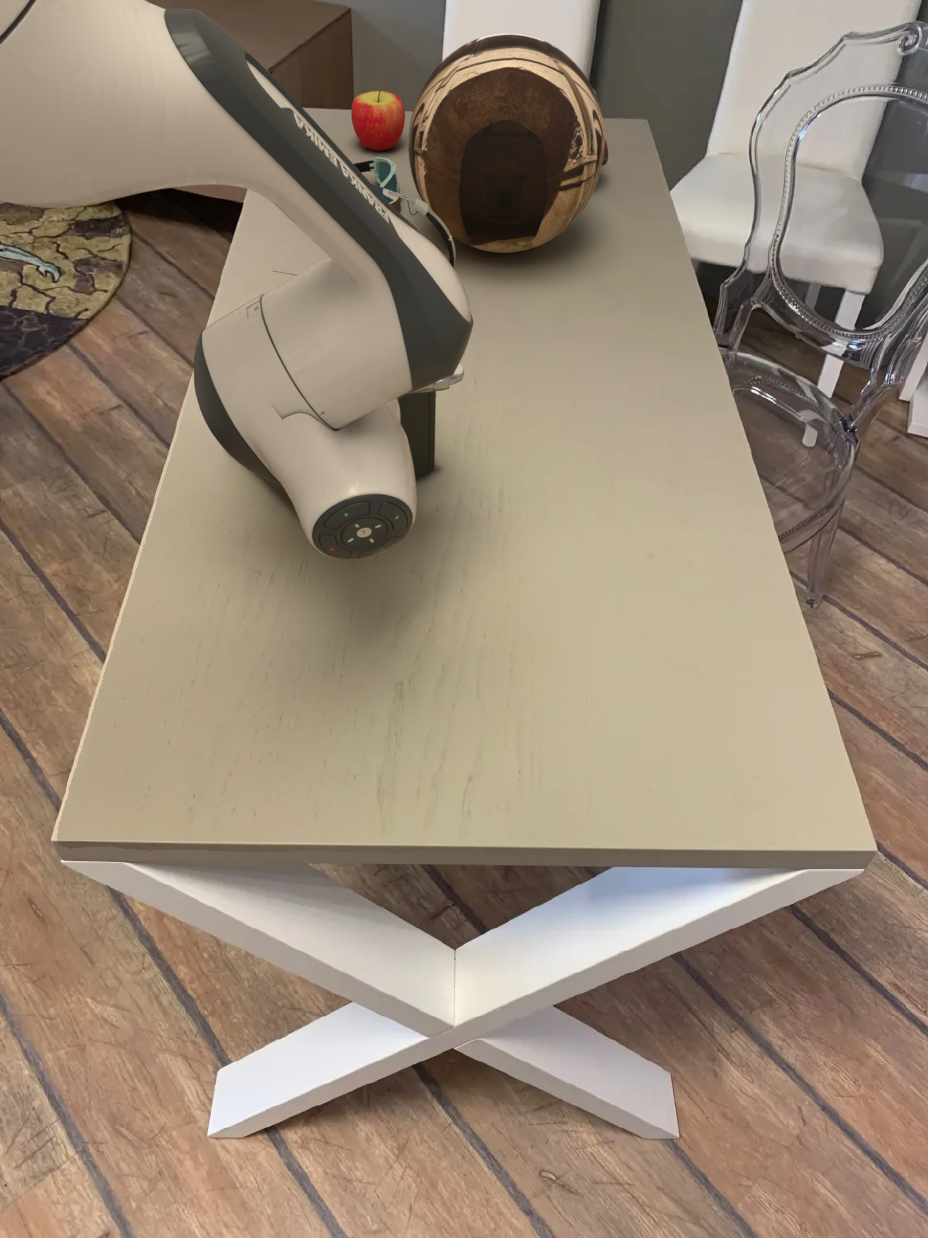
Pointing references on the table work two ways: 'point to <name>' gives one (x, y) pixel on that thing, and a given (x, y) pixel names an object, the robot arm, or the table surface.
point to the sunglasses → (381, 172)
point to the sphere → (506, 142)
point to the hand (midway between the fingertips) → (321, 304)
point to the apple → (378, 119)
